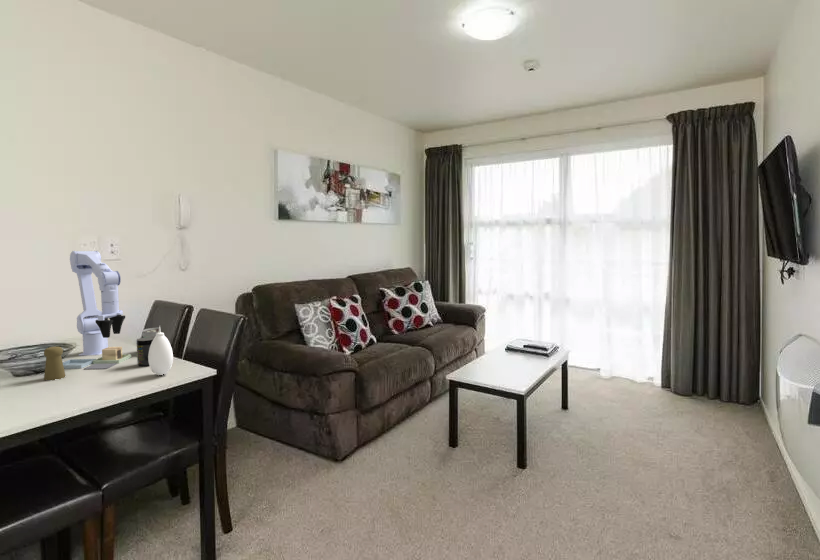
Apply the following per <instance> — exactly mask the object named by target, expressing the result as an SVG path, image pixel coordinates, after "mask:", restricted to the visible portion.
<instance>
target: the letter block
mask: <svg viewBox="0 0 820 560" xmlns="http://www.w3.org/2000/svg"><path fill="white" fill-rule="evenodd" d="M122 355H123V346H108V347H107V348H105V349H102V354H101V357H102V360H119V359H121V358H123V356H122Z"/></svg>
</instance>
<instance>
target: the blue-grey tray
mask: <svg viewBox="0 0 820 560" xmlns="http://www.w3.org/2000/svg"><path fill="white" fill-rule="evenodd" d="M96 359H97V358H73V359H72V358H70V359H67V360H65V361H62V362H63V366H64V370H71V369H74V370H75V369H84V368H86V367H89V366H91V365H93V361H94V360H96Z"/></svg>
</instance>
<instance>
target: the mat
mask: <svg viewBox="0 0 820 560" xmlns="http://www.w3.org/2000/svg"><path fill="white" fill-rule="evenodd" d="M117 364H118V363H110V364H90V365H88V366H86V367H84V368H83V370H85V371H87V370H89V371H90V370H91V371H92V370H107V369H110V368H112V367H115V366H116V365H117Z"/></svg>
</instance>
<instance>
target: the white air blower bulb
mask: <svg viewBox="0 0 820 560" xmlns="http://www.w3.org/2000/svg"><path fill="white" fill-rule="evenodd" d="M173 352H174V351H173V348H172V346H171V341H170V340H169V339H168V338H167V337H166V336H165V333H164V332H162V331H161V325H159V333H156V336H155V338H154V339H153V341H152V343H151V346H150V349H149V354H148V361H149V366H148V367H149V368H150V370H151V372H152V373H154V374H155V375H157V376H159V375H162V376H164V375H167V373H168V372H170V371H171V368H172V366H173V364H174V354H173ZM163 374H164V375H163Z"/></svg>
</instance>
